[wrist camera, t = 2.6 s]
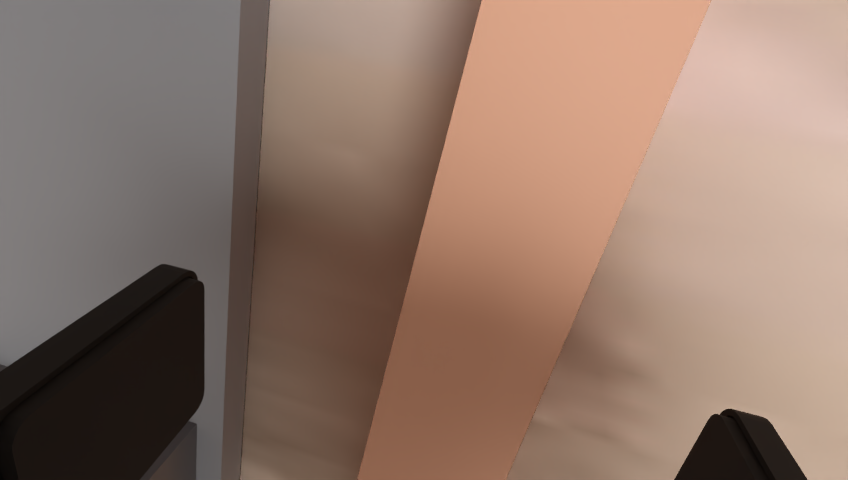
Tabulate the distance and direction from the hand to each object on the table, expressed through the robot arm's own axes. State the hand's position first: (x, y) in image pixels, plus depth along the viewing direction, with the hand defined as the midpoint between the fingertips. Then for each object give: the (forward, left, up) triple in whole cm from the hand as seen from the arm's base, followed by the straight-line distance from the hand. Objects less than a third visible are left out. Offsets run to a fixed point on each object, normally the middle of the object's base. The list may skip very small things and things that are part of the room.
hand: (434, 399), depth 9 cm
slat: (-1, 0, -7) cm, 7 cm away
